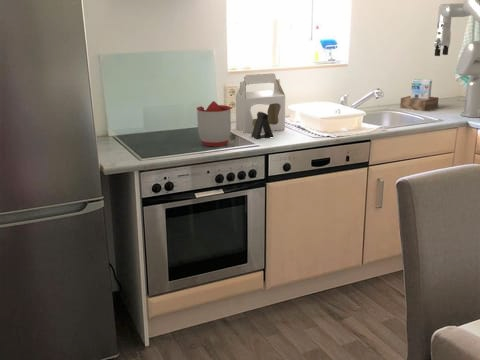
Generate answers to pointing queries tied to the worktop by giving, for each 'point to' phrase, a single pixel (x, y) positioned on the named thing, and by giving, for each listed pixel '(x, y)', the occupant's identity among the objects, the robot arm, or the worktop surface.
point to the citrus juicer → (214, 124)
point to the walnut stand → (419, 103)
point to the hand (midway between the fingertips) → (441, 55)
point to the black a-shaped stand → (262, 122)
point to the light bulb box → (421, 88)
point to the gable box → (260, 97)
